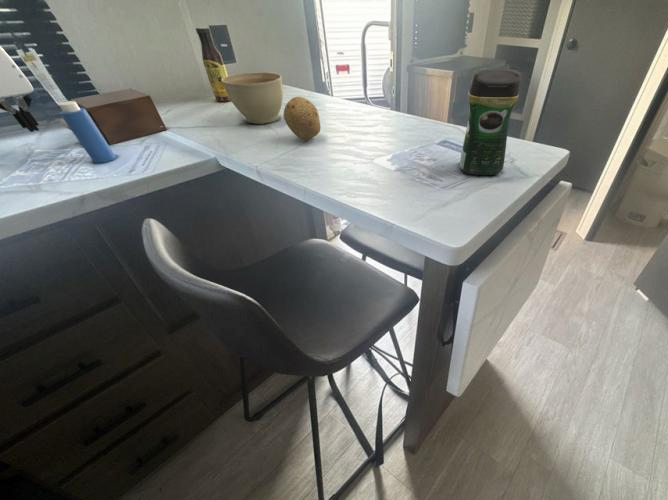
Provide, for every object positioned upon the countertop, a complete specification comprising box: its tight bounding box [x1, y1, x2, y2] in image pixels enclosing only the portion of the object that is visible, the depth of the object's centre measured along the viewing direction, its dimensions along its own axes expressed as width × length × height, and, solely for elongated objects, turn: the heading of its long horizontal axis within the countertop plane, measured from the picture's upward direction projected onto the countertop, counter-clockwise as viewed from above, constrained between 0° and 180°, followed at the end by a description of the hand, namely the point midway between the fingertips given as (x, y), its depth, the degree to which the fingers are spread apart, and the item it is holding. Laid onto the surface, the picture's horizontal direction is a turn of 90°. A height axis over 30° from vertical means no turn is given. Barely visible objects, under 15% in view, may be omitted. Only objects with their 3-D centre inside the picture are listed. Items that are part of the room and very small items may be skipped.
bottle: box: [58, 100, 117, 164], centre depth 72 cm, size 5×5×12 cm
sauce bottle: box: [195, 26, 232, 103], centre depth 105 cm, size 6×6×20 cm
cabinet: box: [70, 88, 167, 145], centre depth 86 cm, size 15×13×9 cm
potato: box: [283, 96, 321, 142], centre depth 81 cm, size 9×9×10 cm
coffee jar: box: [459, 68, 521, 176], centre depth 65 cm, size 10×8×19 cm
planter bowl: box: [221, 71, 284, 125], centre depth 93 cm, size 16×16×11 cm
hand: (33, 129), depth 76 cm, fingers closed
